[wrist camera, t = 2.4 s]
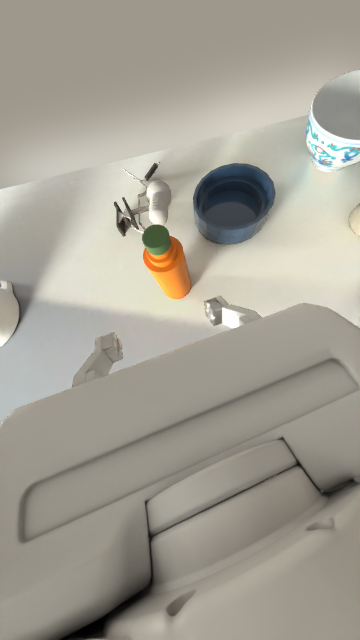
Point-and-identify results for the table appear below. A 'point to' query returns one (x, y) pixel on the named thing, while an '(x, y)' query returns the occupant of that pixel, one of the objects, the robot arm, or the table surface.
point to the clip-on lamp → (157, 208)
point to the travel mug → (355, 220)
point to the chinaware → (335, 123)
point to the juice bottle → (166, 261)
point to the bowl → (233, 203)
